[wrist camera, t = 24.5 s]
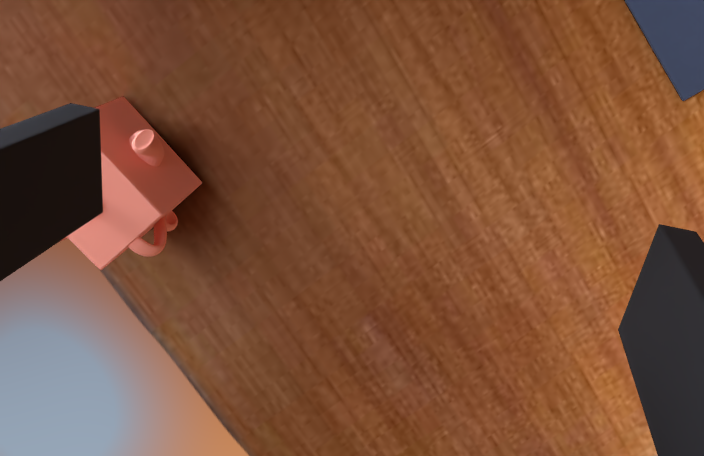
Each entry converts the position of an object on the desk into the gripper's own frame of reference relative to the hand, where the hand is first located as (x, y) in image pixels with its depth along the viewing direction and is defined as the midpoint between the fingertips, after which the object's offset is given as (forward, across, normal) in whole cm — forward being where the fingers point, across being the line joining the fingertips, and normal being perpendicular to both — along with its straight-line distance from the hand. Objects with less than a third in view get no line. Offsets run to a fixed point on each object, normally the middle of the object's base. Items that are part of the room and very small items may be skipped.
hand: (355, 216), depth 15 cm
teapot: (+29, -21, -13) cm, 38 cm away
